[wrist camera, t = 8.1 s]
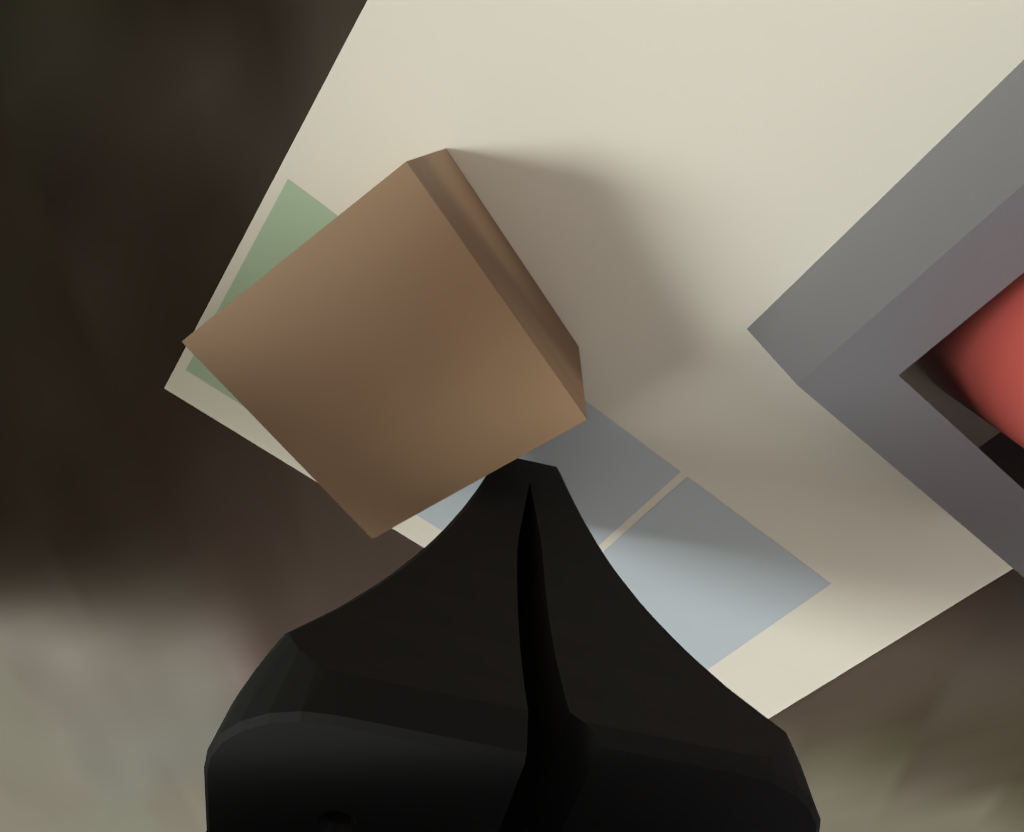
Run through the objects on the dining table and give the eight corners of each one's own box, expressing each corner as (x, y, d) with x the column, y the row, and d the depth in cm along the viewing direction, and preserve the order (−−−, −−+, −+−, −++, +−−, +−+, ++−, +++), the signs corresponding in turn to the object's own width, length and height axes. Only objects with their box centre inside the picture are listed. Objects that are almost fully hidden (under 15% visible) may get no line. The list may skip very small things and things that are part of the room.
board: (1344, 328, 11) (1386, 340, 10) (729, 718, 17) (735, 739, 16) (676, -553, 7) (687, -611, 6) (180, 376, 13) (164, 388, 12)
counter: (578, 346, 11) (587, 419, 9) (410, 448, 12) (372, 539, 10) (446, 147, 10) (406, 161, 7) (271, 286, 11) (181, 342, 8)
